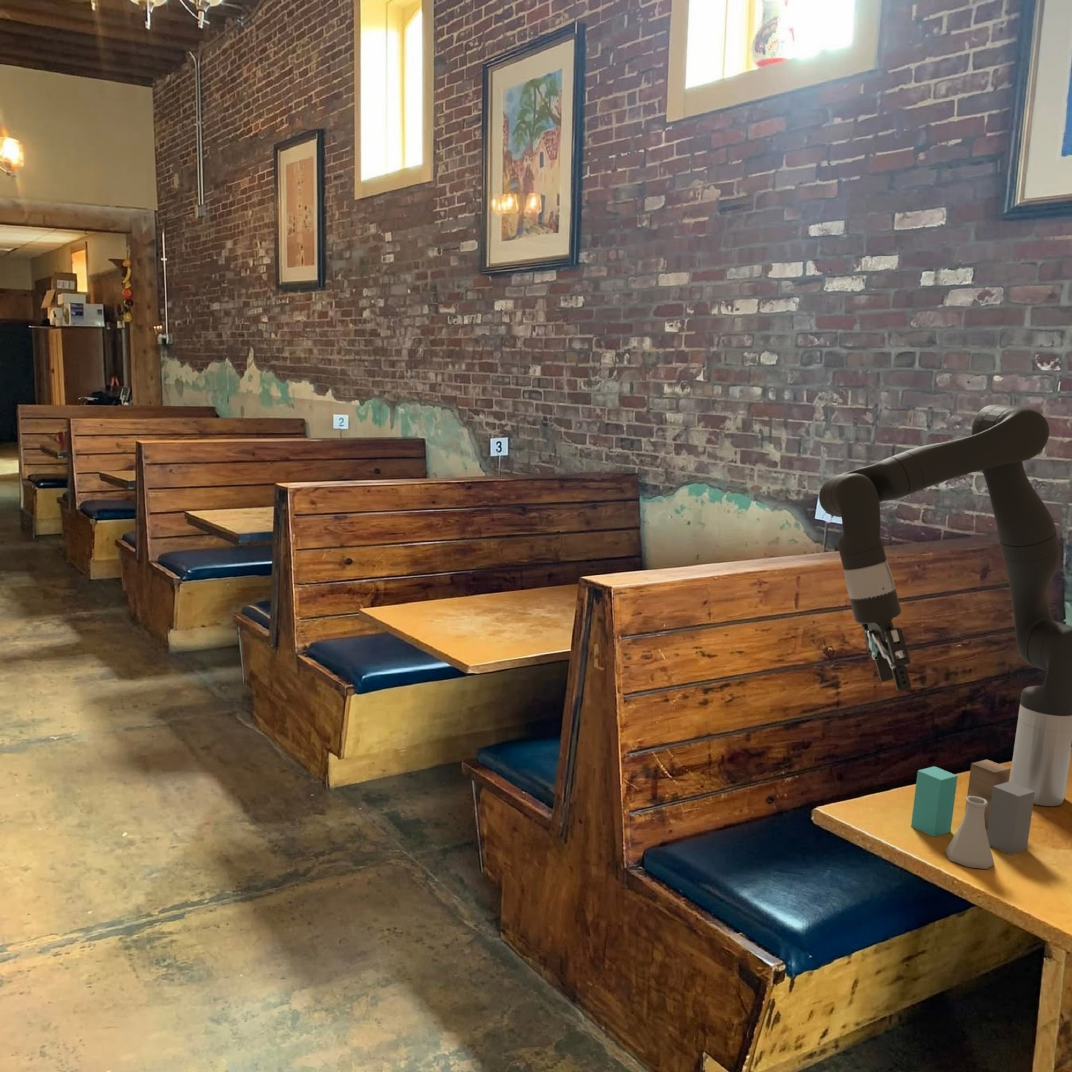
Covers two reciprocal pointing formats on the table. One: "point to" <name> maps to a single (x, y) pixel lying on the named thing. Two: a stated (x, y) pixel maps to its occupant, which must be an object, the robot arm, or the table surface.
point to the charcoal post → (1010, 817)
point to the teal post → (934, 801)
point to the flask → (972, 837)
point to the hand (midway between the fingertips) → (895, 684)
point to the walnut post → (986, 781)
